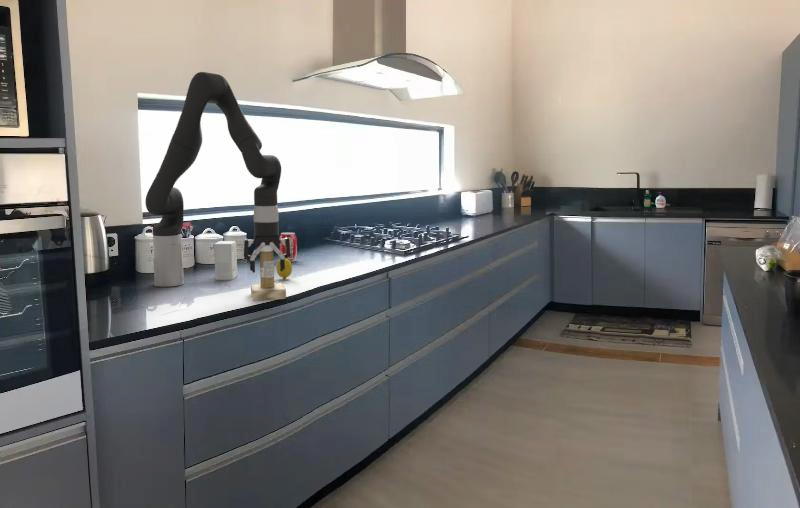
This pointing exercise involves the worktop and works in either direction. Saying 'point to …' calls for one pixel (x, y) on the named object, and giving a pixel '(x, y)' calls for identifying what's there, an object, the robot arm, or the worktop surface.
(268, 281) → the sprinkles bottle
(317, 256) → the worktop surface
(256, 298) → the pedestal
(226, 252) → the small box
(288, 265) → the lemon
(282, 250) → the soda can
